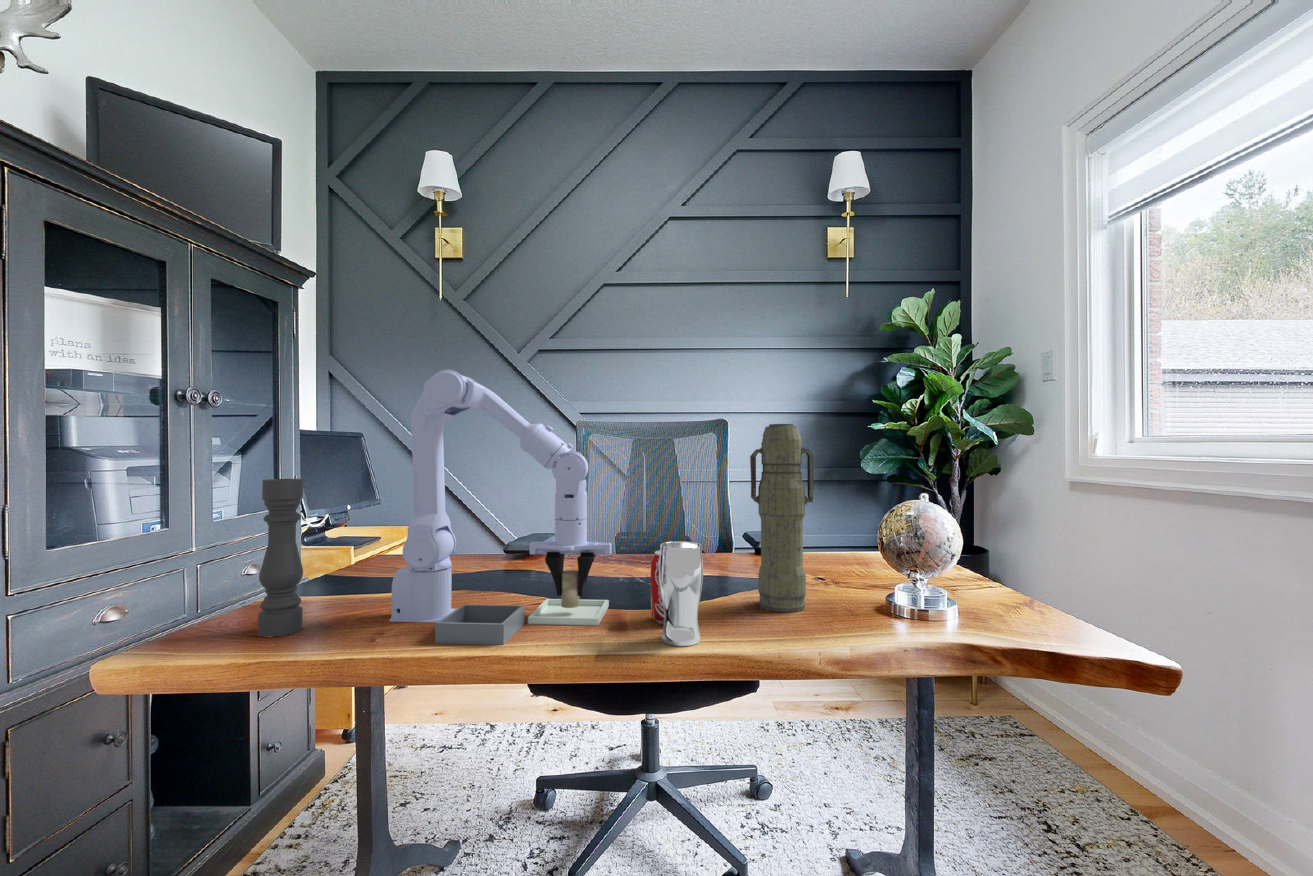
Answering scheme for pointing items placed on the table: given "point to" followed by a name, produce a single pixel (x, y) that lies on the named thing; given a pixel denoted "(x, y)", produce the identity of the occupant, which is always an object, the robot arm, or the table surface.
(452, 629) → the charcoal bin
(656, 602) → the soda can
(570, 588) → the birch pin
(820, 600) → the table surface
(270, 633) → the candle holder
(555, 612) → the sage tray
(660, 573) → the beer glass
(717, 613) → the table surface
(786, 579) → the thermos
